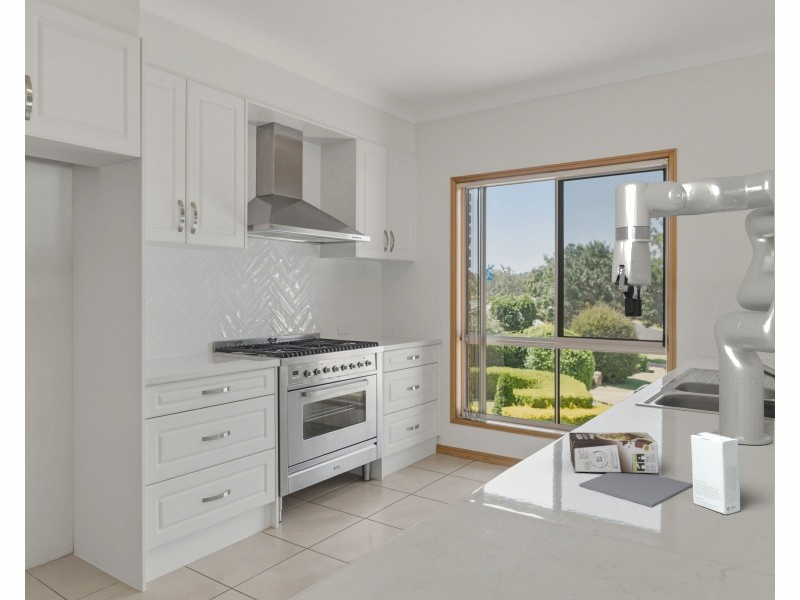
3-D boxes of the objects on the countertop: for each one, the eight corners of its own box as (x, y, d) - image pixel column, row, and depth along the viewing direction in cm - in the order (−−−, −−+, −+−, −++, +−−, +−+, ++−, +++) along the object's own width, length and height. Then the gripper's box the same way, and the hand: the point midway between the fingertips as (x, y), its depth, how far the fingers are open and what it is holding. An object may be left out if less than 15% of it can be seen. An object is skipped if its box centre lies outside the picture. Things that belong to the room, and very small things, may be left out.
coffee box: (657, 441, 111) (572, 441, 114) (659, 474, 111) (574, 473, 114) (646, 431, 120) (568, 431, 123) (648, 461, 120) (569, 460, 123)
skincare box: (741, 511, 94) (741, 438, 94) (724, 516, 92) (724, 442, 92) (707, 499, 99) (707, 430, 99) (690, 503, 97) (689, 433, 97)
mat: (622, 468, 117) (622, 466, 117) (692, 486, 106) (692, 484, 106) (579, 486, 107) (579, 484, 107) (651, 507, 96) (651, 504, 96)
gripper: (633, 239, 137) (633, 315, 137) (600, 236, 127) (600, 317, 127) (664, 237, 131) (664, 315, 131) (631, 233, 121) (632, 318, 122)
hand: (633, 316), depth 129 cm, fingers closed
